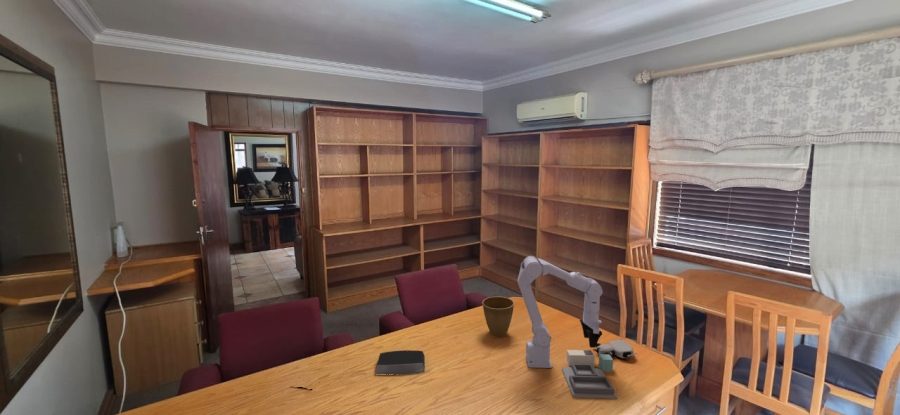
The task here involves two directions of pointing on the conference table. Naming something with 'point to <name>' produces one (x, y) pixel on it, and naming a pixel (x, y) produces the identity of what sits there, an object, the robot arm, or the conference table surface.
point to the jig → (588, 382)
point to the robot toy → (616, 349)
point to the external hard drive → (401, 362)
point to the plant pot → (498, 314)
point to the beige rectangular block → (580, 357)
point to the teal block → (605, 363)
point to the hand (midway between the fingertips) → (589, 342)
